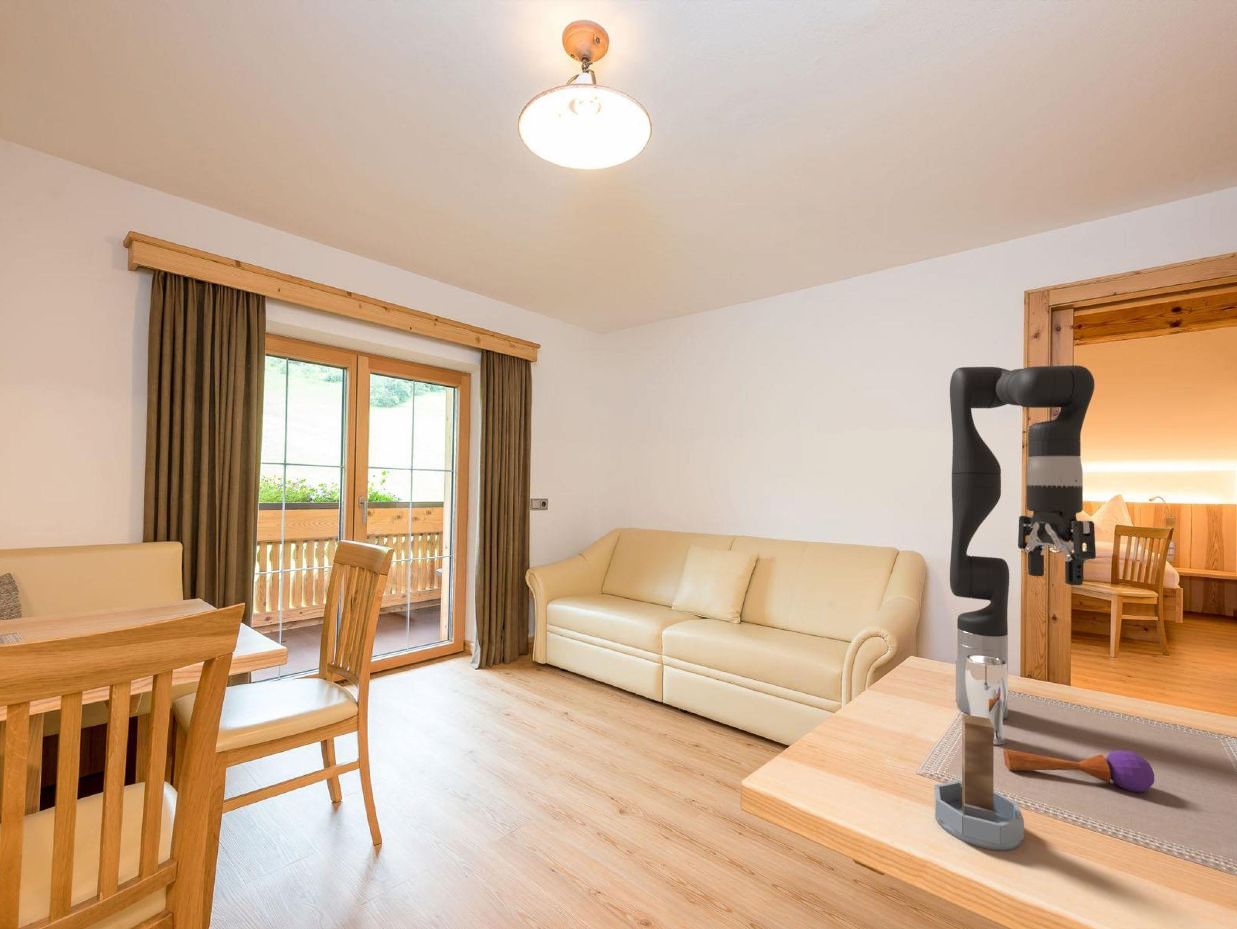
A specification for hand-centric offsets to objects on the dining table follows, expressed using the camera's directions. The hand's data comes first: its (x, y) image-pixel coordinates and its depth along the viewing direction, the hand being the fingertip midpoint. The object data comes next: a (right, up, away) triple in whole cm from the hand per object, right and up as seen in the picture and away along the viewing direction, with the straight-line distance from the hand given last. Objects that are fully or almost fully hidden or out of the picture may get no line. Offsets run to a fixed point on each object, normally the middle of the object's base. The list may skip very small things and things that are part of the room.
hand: (1054, 580), depth 94 cm
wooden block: (-22, -31, -14) cm, 41 cm away
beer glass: (-2, -34, +14) cm, 37 cm away
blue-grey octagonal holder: (-22, -32, -14) cm, 42 cm away
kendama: (+3, -34, -1) cm, 34 cm away
